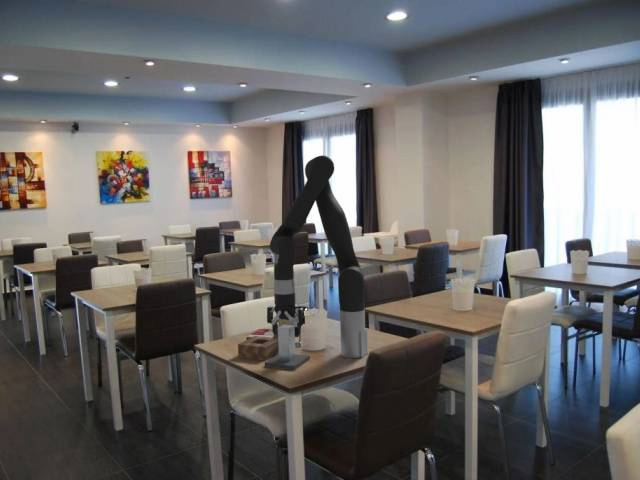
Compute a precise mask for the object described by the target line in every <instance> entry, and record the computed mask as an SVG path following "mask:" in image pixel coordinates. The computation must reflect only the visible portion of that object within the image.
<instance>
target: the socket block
mask: <svg viewBox="0 0 640 480" xmlns="http://www.w3.org/2000/svg"><path fill="white" fill-rule="evenodd" d="M237 351H238V352H237V353H238V354H237V355H238V358H242V359H243V358H244V359H251V360H259V361H268V360H269V359H271V358H273V357H274V356H276V355H278V354H279V344H278V338H270V337H260V336H254V337H252V338H250V339H248V340H246V339H245V340H243V341H242V342H240V343H238V344H237Z"/></svg>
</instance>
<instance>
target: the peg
mask: <svg viewBox="0 0 640 480" xmlns="http://www.w3.org/2000/svg"><path fill="white" fill-rule="evenodd" d="M294 327H295V326H294V325H282V326H280V327H279V326H278V344H279V353H278V354H279V360H281V361H289V362H290V361H292V360H293V359H295V358H296V354H297V353H296V347H295V343H296V337H295V331H294Z"/></svg>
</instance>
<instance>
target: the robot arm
mask: <svg viewBox="0 0 640 480" xmlns="http://www.w3.org/2000/svg"><path fill="white" fill-rule="evenodd" d="M334 172H335V164H334V161H333V160H332V158H330V157H329V156H327V155H322V154H321V155H317V156H316V157H313V158H311V159H310V160H308V161H307V162H306V164H305V168H304V174H305V177H306V181H305V184H304V186H303V188H302V189H301V191H300V193H299V194H298V196H297V197H296V198H295V200H294V201H293V203H292V204H291V206H290V208H289V209H288V212H287V214H286V216H285V218H284V220H283V222H282V223H281V225H279V227H278V228H277V230H276V231H275V232H274V234H273V236H272V237H271V239H270V243H269V249H270V251H271V252H272V253H273V254H274V255H276V256H278V258H277V259H278V260H277V262H276V263H275V264H274V265H273V279H274V280H273V296H274V297H273V298H274V299H273V300H274V306H273V305H270V306H268V307H267V308H266V322H267V324H270V325H271V327H272V329H273V334H274V335H278V327H279V324H278V321H279V320H280V319H281V320H283V319H285V320H290V321H291V322H292V323H293V324H294V326H295V327H294V331H295V338H299V335H300V326H302V325H303V324H305V316H304V308H300V309H296V307H295V304H297V303H296V283H295V272H294V270H295V269H294V265H295V262H296V256H297V244H296V241H295V240H294V236H295V235H296V234H299V233H300V232H301V231H302V229H303V227H304V225H305V223H306V221H307V219H308V217H309V214H310V213H311V210H312V208H313V207H314V205H315V203H316V208H317V211H318V214H319V217H320V222H321V226H322V228H323V232H324V234H325V235H324V236H325V237H326V239H327V242H328V244H329V246H330V247H331V250H332V251H333V254H334V256H335V259H336V262H337V263H336V264H337V267H338V272H339V273H338V274H339V275H338V279H337V280H338V282H337V283H338V284H337V285H338V286H337V287H338V288H337V289H338V302H339V303H338V304H339V322H340V326H339V327H340V328H339V329H340V354H341V356H343V357H344V358H350V359H356V358H364V357H365V356H366V355H367V354H368V352H369V351H368V328H366V318H365V317H366V313H365V312H366V311H365V310H366V309H365V306H366V305H365V304H366V303H365V289H364V287H365V286H364V285H365V284H364V283H365V282H364V281H365V275H364V272H363V269H362V267H361V265H360V263H359V260H358V258H357V255H356V252H355V249H354V243H353V238H352V234H351V230H350V227H349V222H348V219H347V216H346V213H345V211H344V209H343V207H342V205H340V203H339V201H338V200H337V198H336V196H335V195H334V193H333V190H332V187H331V183H330V179H331V178H332V176H333V174H334ZM274 312H275V314H276V315H275V316H274ZM296 312H297V314H298V318H299V320H298V318H297V316H296V315H295V313H296ZM292 317H293V318H292ZM305 325H306V324H305Z"/></svg>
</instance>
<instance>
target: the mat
mask: <svg viewBox="0 0 640 480" xmlns="http://www.w3.org/2000/svg"><path fill="white" fill-rule="evenodd" d="M310 359H311V358H310V355H307V354H306V355H305V354H297V353H296V358H295V359H293V360H292V361H290V362H289V361H281V360H279V353H278V354H276V355H274V356H273V357H271V358H269V359H268V360H265V361H264V367H267V368H274V369H280V370H281V369H282V370H289V371H296V370H297V369H298V368H300V367H302V366H303V365H304V364H306V363H307V362H309V361H310Z"/></svg>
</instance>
